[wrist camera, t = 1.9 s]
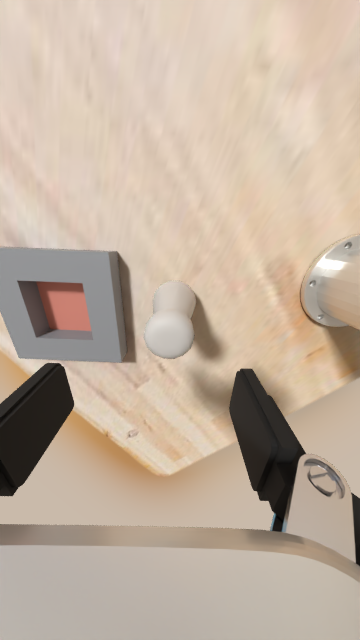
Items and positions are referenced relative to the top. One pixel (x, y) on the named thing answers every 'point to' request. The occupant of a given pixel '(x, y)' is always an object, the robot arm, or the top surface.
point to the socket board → (63, 304)
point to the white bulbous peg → (171, 320)
